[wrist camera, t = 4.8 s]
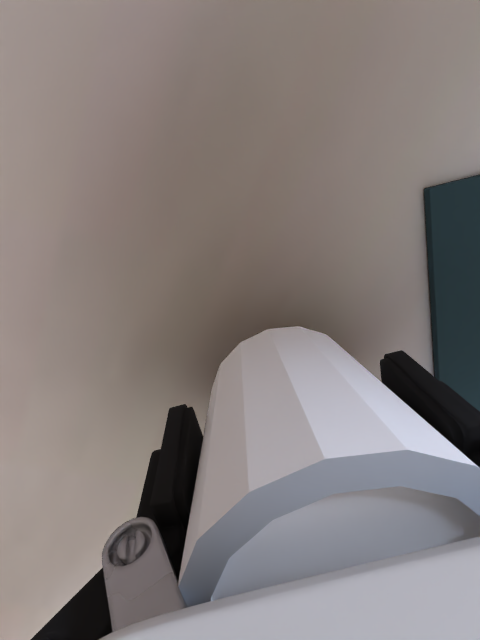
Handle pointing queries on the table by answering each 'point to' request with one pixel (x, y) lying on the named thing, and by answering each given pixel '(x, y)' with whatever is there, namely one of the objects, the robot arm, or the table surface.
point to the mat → (455, 283)
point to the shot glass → (314, 471)
